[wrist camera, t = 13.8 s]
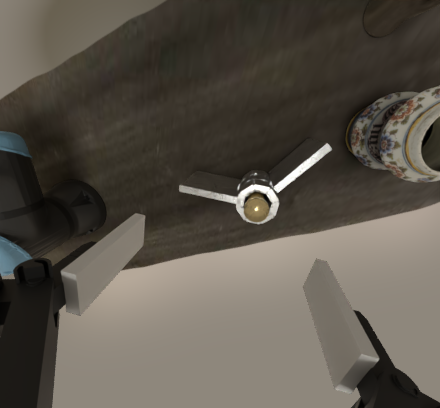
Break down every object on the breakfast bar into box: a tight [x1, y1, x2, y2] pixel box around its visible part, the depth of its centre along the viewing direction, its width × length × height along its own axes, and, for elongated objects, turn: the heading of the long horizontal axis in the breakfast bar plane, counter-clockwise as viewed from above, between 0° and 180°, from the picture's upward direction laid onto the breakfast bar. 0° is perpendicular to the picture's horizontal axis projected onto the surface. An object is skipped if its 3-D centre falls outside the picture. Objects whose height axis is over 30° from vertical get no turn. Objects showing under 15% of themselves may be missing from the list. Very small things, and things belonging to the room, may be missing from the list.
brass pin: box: [244, 192, 269, 222], centre depth 39 cm, size 4×4×15 cm
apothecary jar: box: [346, 86, 440, 182], centre depth 30 cm, size 12×12×18 cm
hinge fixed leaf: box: [179, 170, 279, 224], centre depth 41 cm, size 18×7×12 cm, turn 80°
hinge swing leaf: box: [239, 138, 332, 203], centre depth 38 cm, size 18×7×12 cm, turn 135°
